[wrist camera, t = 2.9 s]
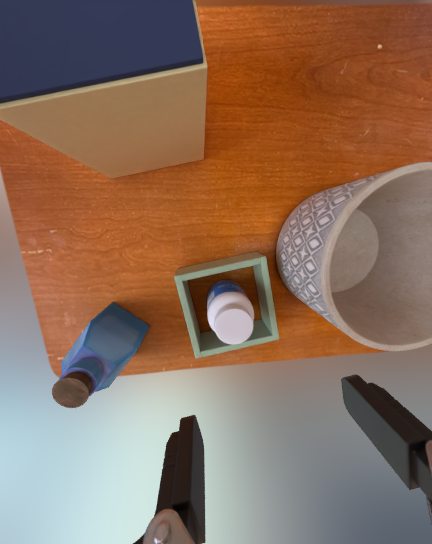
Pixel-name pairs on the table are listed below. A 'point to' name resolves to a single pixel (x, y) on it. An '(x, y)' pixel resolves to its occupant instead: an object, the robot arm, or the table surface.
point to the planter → (366, 257)
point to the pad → (91, 42)
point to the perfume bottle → (98, 355)
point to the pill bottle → (229, 312)
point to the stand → (122, 120)
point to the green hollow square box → (267, 325)
